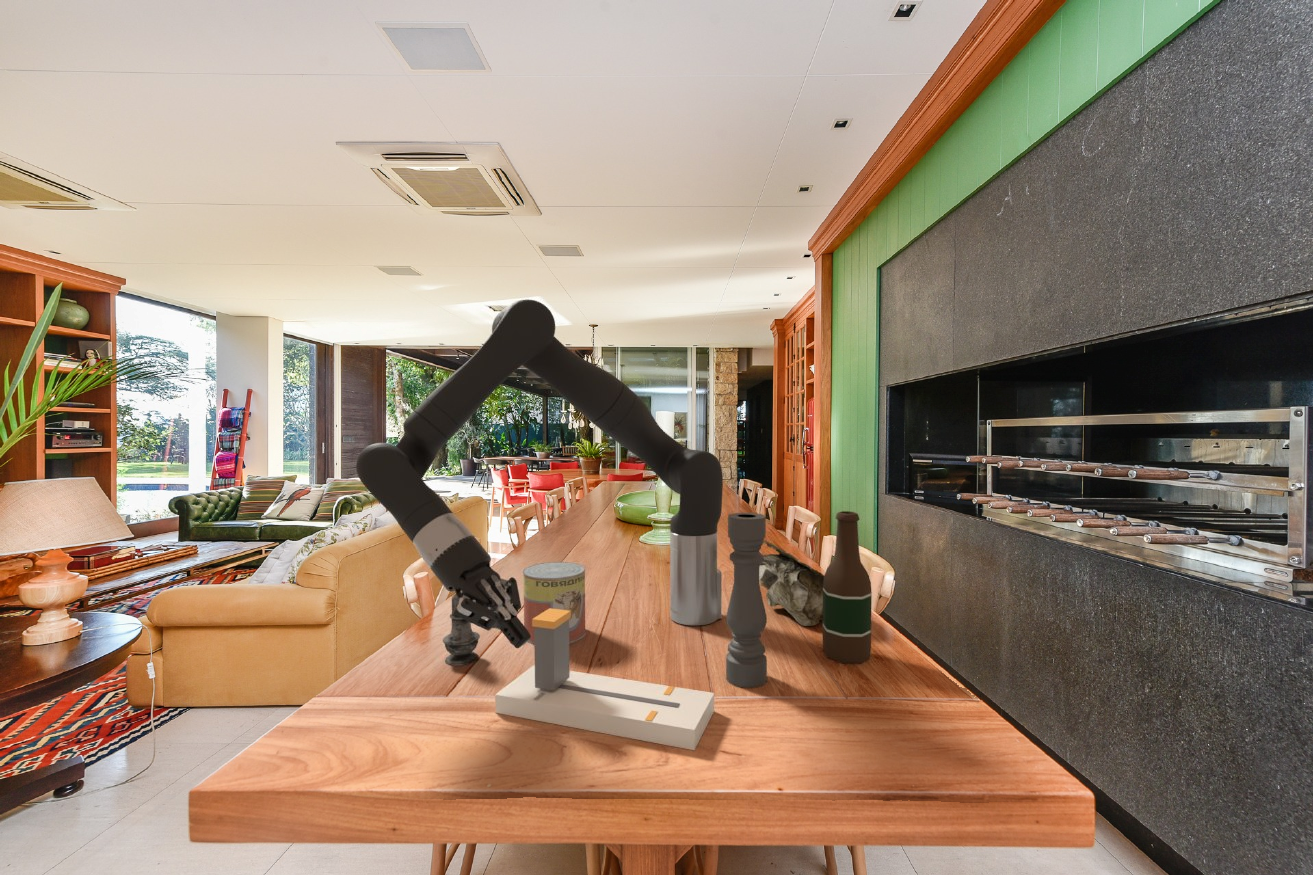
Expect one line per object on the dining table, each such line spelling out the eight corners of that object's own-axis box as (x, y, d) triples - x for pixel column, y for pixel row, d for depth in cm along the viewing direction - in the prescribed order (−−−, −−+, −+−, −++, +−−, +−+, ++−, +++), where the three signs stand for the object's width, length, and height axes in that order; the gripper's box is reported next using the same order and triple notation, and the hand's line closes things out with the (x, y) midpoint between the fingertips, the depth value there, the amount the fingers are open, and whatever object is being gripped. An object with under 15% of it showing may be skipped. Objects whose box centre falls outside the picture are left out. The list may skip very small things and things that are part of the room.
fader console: (495, 712, 81) (495, 693, 81) (533, 681, 91) (533, 664, 91) (694, 750, 72) (694, 729, 72) (714, 710, 81) (714, 692, 81)
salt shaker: (469, 667, 96) (467, 593, 95) (435, 664, 97) (434, 591, 96) (486, 653, 101) (485, 583, 101) (455, 650, 103) (453, 581, 102)
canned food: (544, 651, 102) (543, 581, 102) (512, 633, 111) (511, 569, 110) (597, 635, 110) (597, 570, 109) (564, 619, 118) (563, 558, 118)
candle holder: (769, 672, 93) (770, 513, 92) (763, 690, 87) (764, 520, 86) (730, 667, 95) (730, 511, 94) (721, 684, 89) (721, 518, 88)
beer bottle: (873, 650, 102) (874, 510, 101) (868, 668, 95) (870, 517, 94) (826, 643, 105) (827, 507, 104) (818, 659, 98) (819, 514, 97)
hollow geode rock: (770, 607, 139) (726, 562, 138) (808, 568, 140) (764, 523, 139) (816, 651, 111) (761, 595, 110) (863, 602, 112) (809, 546, 111)
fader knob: (532, 687, 82) (532, 619, 82) (550, 673, 87) (549, 608, 86) (554, 691, 81) (554, 621, 81) (571, 676, 86) (570, 610, 85)
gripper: (436, 543, 81) (514, 644, 78) (493, 526, 94) (563, 612, 90) (405, 579, 83) (480, 678, 80) (465, 557, 96) (533, 642, 92)
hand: (524, 642), depth 85 cm, fingers closed
